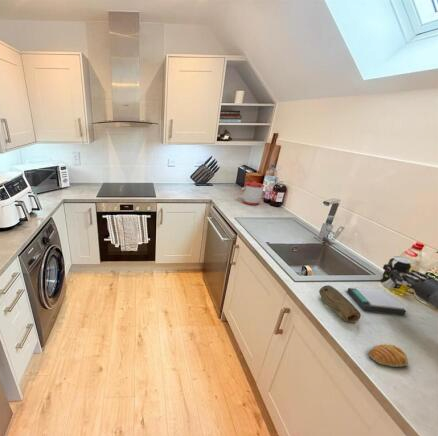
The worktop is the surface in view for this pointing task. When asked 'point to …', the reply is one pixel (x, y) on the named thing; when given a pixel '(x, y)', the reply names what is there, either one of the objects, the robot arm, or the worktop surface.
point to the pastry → (389, 355)
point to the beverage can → (395, 264)
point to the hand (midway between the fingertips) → (388, 266)
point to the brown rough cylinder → (339, 304)
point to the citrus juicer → (252, 192)
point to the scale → (375, 301)
